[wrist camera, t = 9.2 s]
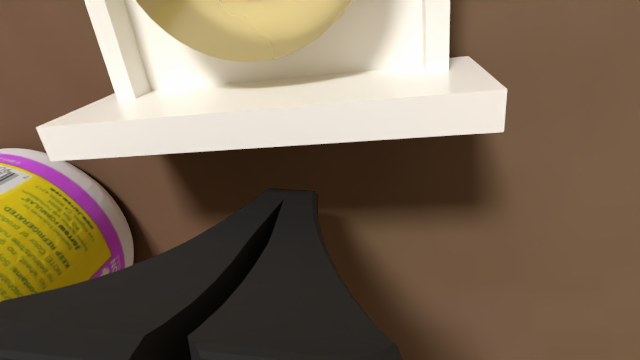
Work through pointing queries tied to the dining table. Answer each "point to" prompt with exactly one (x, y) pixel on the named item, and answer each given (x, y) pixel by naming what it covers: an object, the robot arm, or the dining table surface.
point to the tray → (279, 87)
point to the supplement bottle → (55, 226)
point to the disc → (245, 25)
